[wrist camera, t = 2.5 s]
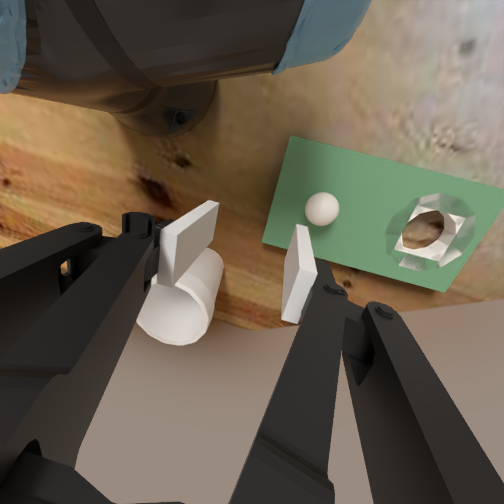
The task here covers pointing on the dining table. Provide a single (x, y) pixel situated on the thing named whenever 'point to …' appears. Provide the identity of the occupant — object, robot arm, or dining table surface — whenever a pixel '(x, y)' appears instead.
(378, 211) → the green
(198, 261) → the foam cup
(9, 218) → the dining table surface
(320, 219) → the ball
